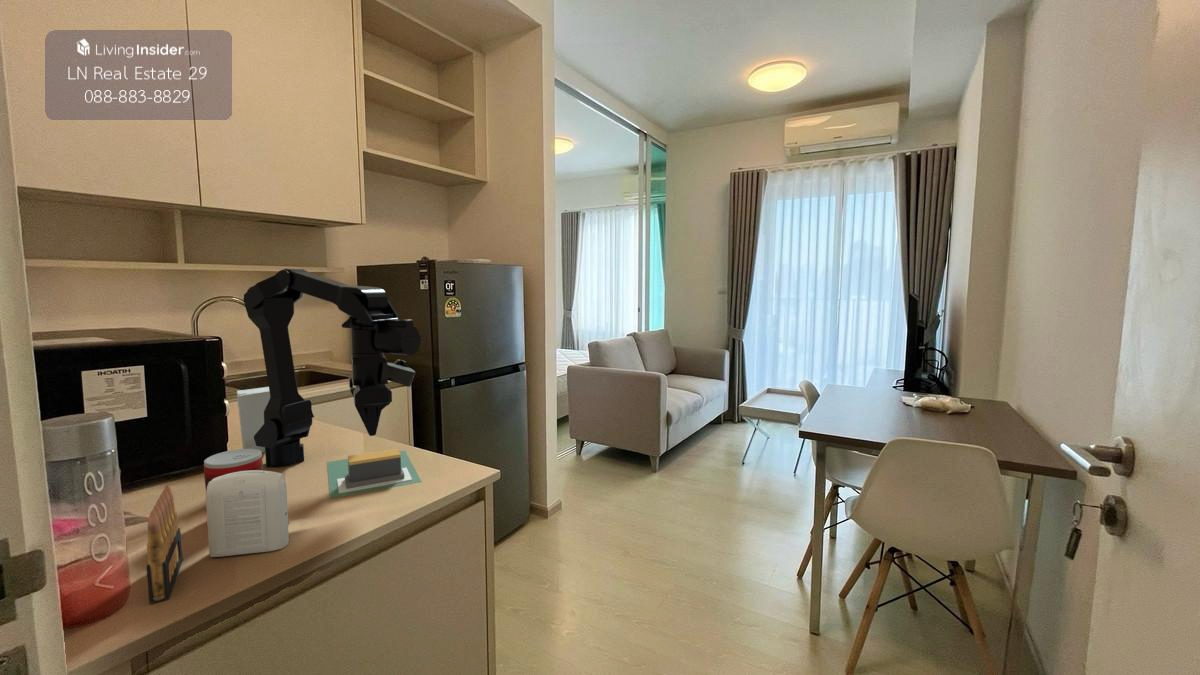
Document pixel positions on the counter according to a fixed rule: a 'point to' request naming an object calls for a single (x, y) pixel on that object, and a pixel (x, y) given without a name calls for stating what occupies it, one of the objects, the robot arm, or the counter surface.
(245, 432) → the skincare box
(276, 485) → the photo printer
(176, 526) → the ammunition clip
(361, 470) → the yellow and grey block
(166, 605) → the counter surface
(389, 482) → the board
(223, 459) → the canned food
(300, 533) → the counter surface
